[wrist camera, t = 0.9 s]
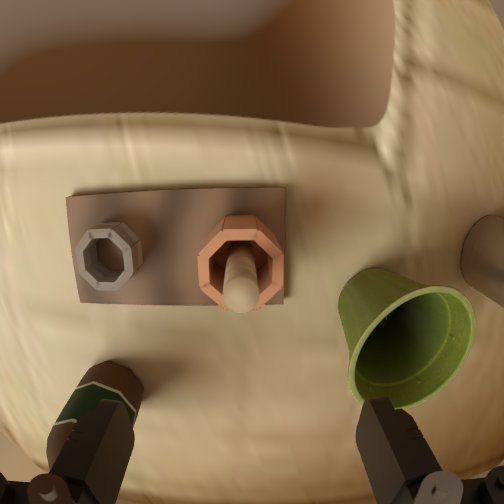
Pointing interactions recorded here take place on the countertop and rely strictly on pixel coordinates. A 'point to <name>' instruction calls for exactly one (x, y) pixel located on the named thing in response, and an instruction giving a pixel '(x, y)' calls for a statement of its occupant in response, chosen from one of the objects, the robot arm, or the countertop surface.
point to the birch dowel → (240, 278)
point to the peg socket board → (158, 240)
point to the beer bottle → (95, 401)
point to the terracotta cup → (216, 252)
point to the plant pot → (403, 337)
